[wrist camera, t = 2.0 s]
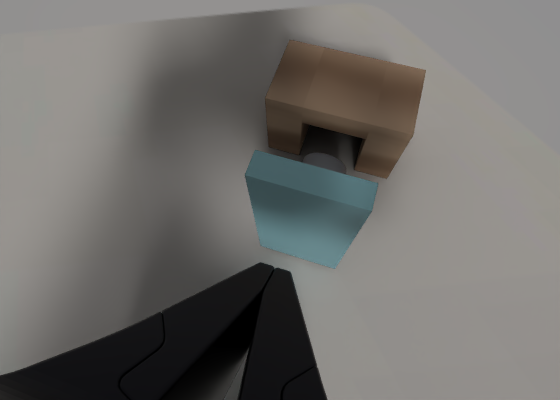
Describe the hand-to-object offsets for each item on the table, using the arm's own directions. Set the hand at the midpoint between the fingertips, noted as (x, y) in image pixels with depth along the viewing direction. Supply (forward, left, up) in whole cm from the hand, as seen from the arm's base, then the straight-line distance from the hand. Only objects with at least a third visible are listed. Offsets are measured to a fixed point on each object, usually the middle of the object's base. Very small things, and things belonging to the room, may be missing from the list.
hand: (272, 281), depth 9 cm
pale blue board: (+5, +5, -13) cm, 15 cm away
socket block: (+11, +9, -13) cm, 19 cm away
